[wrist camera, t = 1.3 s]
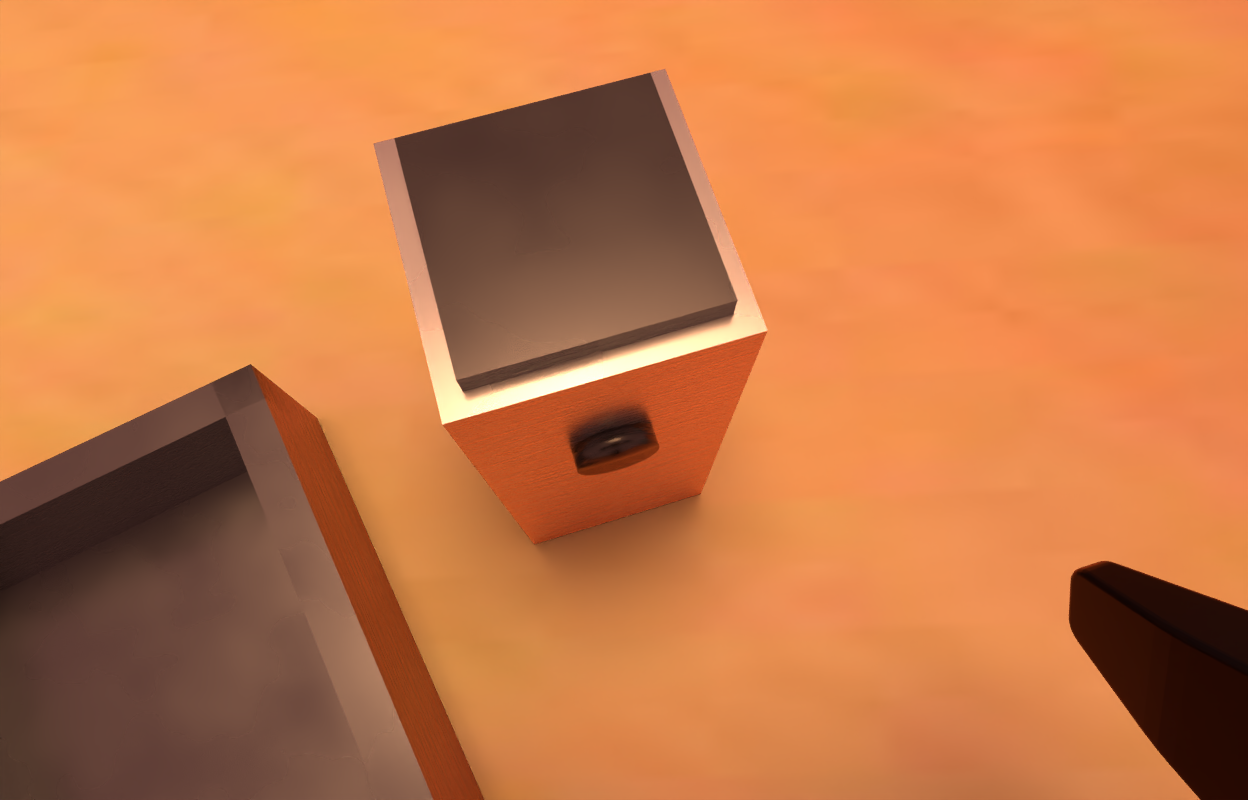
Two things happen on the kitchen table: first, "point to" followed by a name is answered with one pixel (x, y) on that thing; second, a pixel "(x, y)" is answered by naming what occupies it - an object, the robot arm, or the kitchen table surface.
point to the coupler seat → (208, 620)
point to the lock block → (575, 300)
